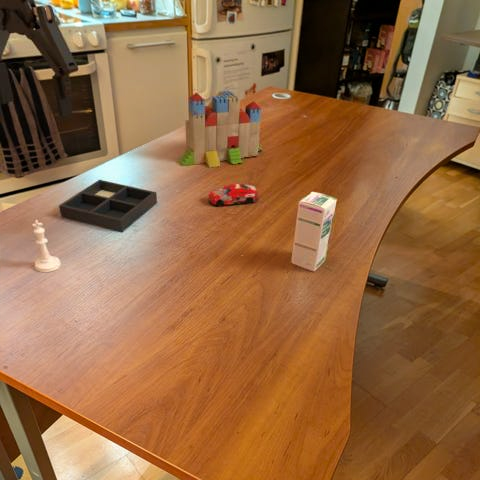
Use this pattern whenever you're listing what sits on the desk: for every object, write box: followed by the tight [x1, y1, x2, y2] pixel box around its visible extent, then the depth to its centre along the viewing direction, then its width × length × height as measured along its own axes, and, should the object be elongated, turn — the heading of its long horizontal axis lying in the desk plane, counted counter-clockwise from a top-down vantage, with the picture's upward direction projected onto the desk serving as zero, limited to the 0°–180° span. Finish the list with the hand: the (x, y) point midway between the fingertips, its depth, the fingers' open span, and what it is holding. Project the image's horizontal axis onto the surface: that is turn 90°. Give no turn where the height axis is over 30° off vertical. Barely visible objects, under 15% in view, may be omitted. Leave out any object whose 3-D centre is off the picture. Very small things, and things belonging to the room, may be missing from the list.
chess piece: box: [32, 219, 62, 273], centre depth 89 cm, size 5×5×10 cm
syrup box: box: [290, 191, 338, 273], centre depth 94 cm, size 6×6×14 cm
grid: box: [58, 179, 158, 233], centre depth 111 cm, size 16×16×3 cm
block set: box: [178, 90, 264, 168], centre depth 136 cm, size 28×14×19 cm, turn 115°
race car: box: [207, 183, 260, 208], centre depth 118 cm, size 13×5×4 cm, turn 106°
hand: (36, 108), depth 85 cm, fingers open, 13 cm apart
